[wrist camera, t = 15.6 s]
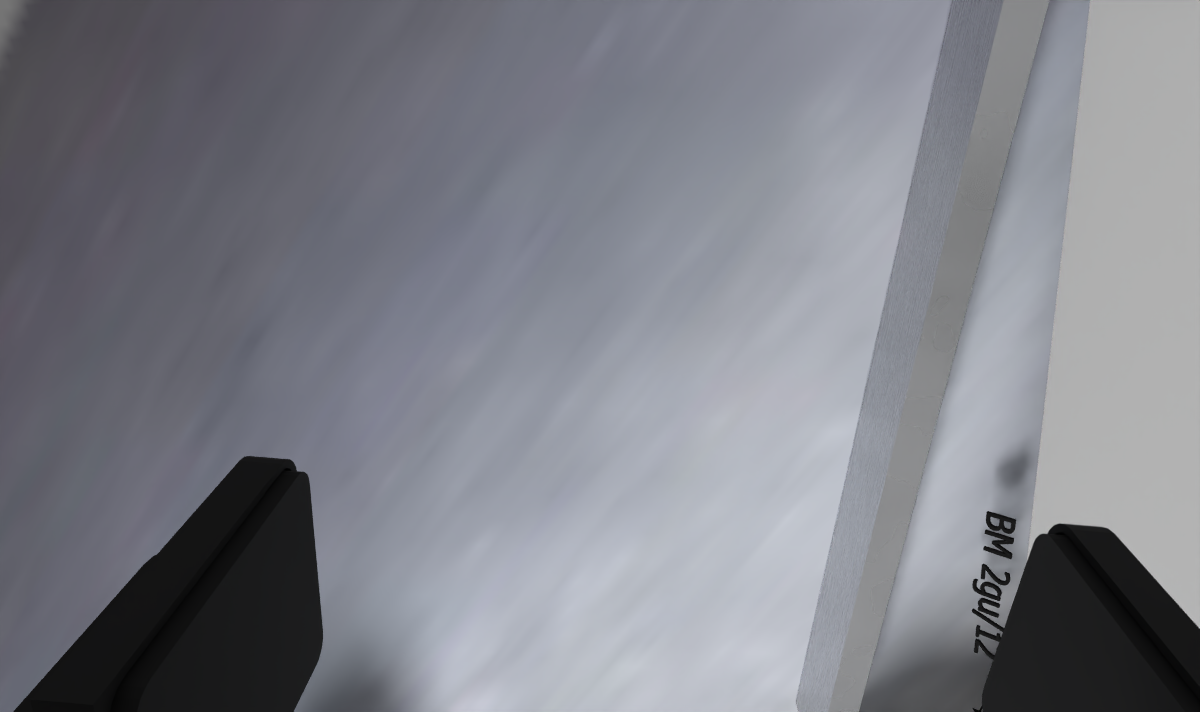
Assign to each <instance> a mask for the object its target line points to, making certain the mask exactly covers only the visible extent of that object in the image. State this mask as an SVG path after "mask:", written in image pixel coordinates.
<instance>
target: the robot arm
mask: <svg viewBox="0 0 1200 712" xmlns="http://www.w3.org/2000/svg"><path fill="white" fill-rule="evenodd" d="M322 642H323V628H322V616H321V605H320V594H319V583H318V572H317V560H316V549H315V538H314V527H313V516H312V504H311V493H310V483H309V478H308V475H307V474H306V473H305V472H298V471H297V470H296V466H295V464H294V462H293V461H291V460H290V459H278V458H266V457H254V456H246V457H244V458H242V459H241V460H240V461H239V462H238V463H237V464H236V465H235V467H234V468H233V469H232V470H231V471H230V472H229V473H228V474H227V476H226V477H225V478H224V479H223V480H222V481H221V482H220V484H219V485H218V486H217V487H216V488H215V489H214V490H213V492H212V493H211V494H210V495H209V496H208V497H207V498H206V500H205V501H204V502H203V503H202V504H201V505H200V506H199V507H198V509H197V510H196V511H195V512H194V513H193V514H192V515H191V517H190V518H189V519H188V520H187V521H186V522H185V523H184V525H183V526H182V527H181V528H180V529H179V530H178V531H177V532H176V534H175V535H174V536H173V537H172V538H171V539H170V540H169V542H168V543H167V544H166V545H165V546H164V547H163V548H162V550H161V551H160V552H159V553H158V554H157V555H155V556H153V557H152V558H151V559H150V560H149V561H147V562H146V563H145V564H144V565H143V566H142V567H141V568H140V570H139V571H138V572H137V573H136V574H135V575H134V576H133V577H132V579H131V580H130V581H129V582H128V583H127V584H126V585H125V586H124V588H123V589H122V590H121V591H120V592H119V593H118V594H117V596H116V597H115V598H114V599H113V600H112V601H111V602H110V603H109V605H108V606H107V607H106V608H105V609H104V610H103V611H102V612H101V614H100V615H99V616H98V617H97V618H96V619H95V620H94V621H93V623H92V624H91V625H90V626H89V627H88V628H87V629H86V630H85V632H84V633H83V634H82V635H81V636H80V637H79V638H78V639H77V641H76V642H75V643H74V644H73V645H72V646H71V647H70V648H69V650H68V651H67V652H66V653H65V654H64V655H63V656H62V657H61V659H60V660H59V661H58V662H57V663H56V664H55V665H54V666H53V668H52V669H51V670H50V671H49V672H48V673H47V674H46V676H45V677H44V678H43V679H42V680H41V681H40V682H39V683H38V685H37V686H36V687H35V688H34V689H33V690H32V691H31V692H30V694H29V695H28V696H27V697H26V698H25V699H24V700H23V701H22V703H21V704H20V705H19V706H18V707H17V708H16V709H15V710H14V712H294V709H295V707H296V705H297V703H298V701H299V699H300V697H301V695H302V693H303V691H304V689H305V687H306V685H307V683H308V681H309V679H310V677H311V675H312V673H313V671H314V669H315V667H316V665H317V662H318V660H319V657H320V653H321V649H322ZM982 708H983V712H1200V628H1199V627H1198V626H1197V625H1196V624H1195V623H1194V622H1193V621H1192V620H1191V618H1190V617H1189V616H1188V615H1187V614H1186V613H1185V612H1184V611H1183V609H1182V608H1181V607H1180V606H1179V605H1178V604H1177V603H1176V602H1175V601H1174V599H1173V598H1172V597H1171V596H1170V595H1169V594H1168V593H1167V592H1166V590H1165V589H1164V588H1163V587H1162V586H1161V585H1160V584H1159V583H1158V582H1157V580H1156V579H1155V578H1154V577H1153V576H1152V575H1151V574H1150V573H1149V571H1148V570H1147V569H1146V568H1145V567H1144V566H1143V565H1142V564H1141V563H1140V561H1139V560H1138V559H1137V558H1136V557H1135V556H1134V555H1133V554H1132V552H1131V551H1130V550H1129V549H1128V548H1127V547H1126V546H1125V545H1124V544H1123V542H1122V541H1121V540H1120V539H1119V538H1118V537H1117V536H1116V535H1115V533H1113V532H1112V531H1111V530H1110V529H1108V528H1105V527H1099V526H1086V525H1074V524H1062V523H1059V524H1056V525H1054V526H1053V527H1052V528H1051V529H1050V530H1049V531H1048V533H1047V534H1045V533H1043V534H1040V535H1039V536H1038V537H1037V538H1036V539H1035V541H1034V543H1033V546H1032V549H1031V552H1030V555H1029V557H1028V560H1027V563H1026V566H1025V569H1024V572H1023V575H1022V578H1021V581H1020V584H1019V587H1018V590H1017V593H1016V596H1015V598H1014V601H1013V604H1012V607H1011V610H1010V613H1009V616H1008V619H1007V622H1006V625H1005V628H1004V631H1003V634H1002V637H1001V639H1000V642H999V645H998V648H997V651H996V654H995V657H994V660H993V663H992V666H991V669H990V672H989V675H988V678H987V680H986V683H985V686H984V690H983V694H982Z"/></svg>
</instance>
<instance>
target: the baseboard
mask: <svg viewBox="0 0 1200 712" xmlns="http://www.w3.org/2000/svg"><path fill="white" fill-rule="evenodd" d="M990 517H994V518H997V519H1000V523H999V526H994V525H992V524H991V521H990ZM1004 521H1007V522H1010V523H1011V529H1007V528H1005V527H1004ZM986 523H987V526H988V527H989V528H990V529H992V530H994V531H999V530H1000V529H1002V530H1003V531H1004V532H1005V533H1007V534H1011V533H1013V532H1014V530H1015V524H1016V519H1013V518H1009V517H1006V516H1003V515H999V514H996V513H993V512H989V511H987V515H986ZM1059 523H1062V524H1074V525H1086V526H1099V527H1105V528H1108V529H1110V530H1111V531H1112V532H1113V533H1115V535H1116V536H1117V537H1118V538H1119V539H1120V540H1121V541H1122V542H1123V544H1124V545H1125V546H1126V547H1127V548H1128V549H1129V550H1130V551H1131V552H1132V554H1133V555H1134V556H1135V557H1136V558H1137V559H1138V560H1139V561H1140V563H1141V564H1142V565H1143V566H1144V567H1145V568H1146V569H1147V570H1148V571H1149V573H1150V574H1151V575H1152V576H1153V577H1154V578H1155V579H1156V580H1157V582H1158V583H1159V584H1160V585H1161V586H1162V587H1163V588H1164V589H1165V590H1166V592H1167V593H1168V594H1169V595H1170V596H1171V597H1172V598H1173V599H1174V601H1175V602H1176V603H1177V604H1178V605H1179V606H1180V607H1181V608H1182V609H1183V611H1184V612H1185V613H1186V614H1187V615H1188V616H1189V617H1190V618H1191V620H1192V621H1193V622H1194V623H1195V624H1196V625H1197V626H1198V627H1199V628H1200V0H1090V7H1089V15H1088V24H1087V33H1086V42H1085V51H1084V60H1083V68H1082V77H1081V86H1080V95H1079V104H1078V113H1077V121H1076V130H1075V139H1074V148H1073V157H1072V166H1071V175H1070V183H1069V192H1068V201H1067V210H1066V219H1065V228H1064V236H1063V245H1062V254H1061V263H1060V272H1059V281H1058V290H1057V298H1056V307H1055V316H1054V325H1053V334H1052V343H1051V351H1050V360H1049V369H1048V378H1047V387H1046V396H1045V405H1044V413H1043V422H1042V431H1041V440H1040V449H1039V458H1038V466H1037V475H1036V484H1035V493H1034V502H1033V511H1032V520H1031V528H1030V537H1029V546H1028V555H1027V560H1028V557H1029V555H1030V552H1031V549H1032V546H1033V543H1034V541H1035V539H1036V538H1037V537H1038V536H1039V535H1040V534H1043V533H1045V534H1047V533H1048V531H1049V530H1050V529H1051V528H1052V527H1053V526H1054V525H1056V524H1059ZM985 534H988V535H991V536H994V537H997V538H1000V539H1003V540H995V541H992V544H993V545H994V546H996V547H997V548H998V549H1000V550H1001V551H999V550H996V549H993V548H990V547H987V546H984V548H983V550H985V551H988V552H991V553H994V554H997V555H1000V556H1003V557H1006V558H1009V559H1011V558H1012V553H1011V552H1009V551H1008V550H1006V549H1005V548H1004V547H1002V546H1001V545H999V544H1013V543H1014V538H1011V537H1008V536H1005V535H1002V534H999V533H996V532H992V531H989V530H985ZM1002 551H1003V552H1002ZM985 571H987V572H988V574H989V575H990V576H991V577H992V579H993V580H994V581H995V582H997V583H998V584H1000V585H1007V584H1008V583H1009V582H1010V574H1009V573H1007V572H1005V573H1004V574H1005V576H1006V581H1003V580H1000V579H999V578H997V577H996V576H995V574H994V573H993V572H992V571H991V570H990V569H989V567H988V566H987V565H985V564H982V570H981V579H985ZM977 581H978V579H974V580H973V589H974V591H975V592H977V593H978V594H981V595H983V596H986V597H989V598H991V599H994V600H997V601H1000V599H1001V597H1000V596H1001V594H1002V592H1001V589H1000V588H999V587H998V586H997V585H995V584H993V583H990V582H983V583H982V584H981V586H980V589H981V590H980V589H978V588H977ZM985 586H988V587H991V588H994V589H995V590H996V591H997V593H998V594H997V596H995V595H993V594H990V593H987V592H986V591H985V588H984V587H985ZM982 603H987V604H989V605H992V606H995V607H997V608H999V607H1000V604H999V603H996V602H993V601H991V600H988V599H985V598H981V599H980V600H979V601H978V605H979V607H978V610H979V611H981V612H984V613H986V614H989V615H992V616H994V617H997V618H998V617H999V614H998V613H996V612H993V611H990V610H988V609H985V608H984V607H983V605H982ZM972 612H973V613H974V614H976V615H977V616H979V617H980V618H982V619H983V620H985V621H986V622H988V623H990V624H991V625H993V626H994V627H996V628H997V629H999V630H1000V631H1002V632H1003V631H1004V628H1003V627H1001V626H1000V625H998V624H997V623H995V622H994V621H992V620H990V619H989V618H987V617H986V616H984V615H983V614H981V613H980V612H978V611H977V610H975V609H972ZM979 634H981V635H983V636H986V637H988V638H991V639H993V640H996V641H998V642H1000V639H1001V637H1000V634H999V633H997V636H995V635H992V634H990V633H987V632H985V631H982V630H980V626H979V625H977V626H976V637H979ZM979 646H980V647H981V648H982V650H983V651H984V652H985V653H986V655H987V656H989V657H990V658H991V659H993V660H994V657H995V655H993V654H992V653H990V652H989V651H988V650H987V648H986V647H985V646H984V645H983V644H982V642H981V641H980V640H979V639H975V647H974V652H975V653H978V647H979ZM973 710H974V712H981V710H982V707H981V708H980V710H977V709H974V708H973Z"/></svg>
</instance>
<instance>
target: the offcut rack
mask: <svg viewBox="0 0 1200 712" xmlns="http://www.w3.org/2000/svg"><path fill="white" fill-rule="evenodd" d="M1049 1H1050V0H953V1H952V5H951V10H950V14H949V19H948V23H947V28H946V32H945V37H944V41H943V46H942V50H941V55H940V59H939V63H938V68H937V72H936V77H935V81H934V86H933V90H932V95H931V99H930V104H929V108H928V113H927V117H926V122H925V126H924V131H923V135H922V140H921V144H920V148H919V153H918V157H917V162H916V166H915V171H914V175H913V180H912V184H911V189H910V193H909V198H908V202H907V207H906V211H905V216H904V220H903V225H902V229H901V234H900V238H899V242H898V247H897V251H896V256H895V260H894V265H893V269H892V274H891V278H890V283H889V287H888V292H887V296H886V301H885V305H884V310H883V314H882V319H881V323H880V327H879V332H878V336H877V341H876V345H875V350H874V354H873V359H872V363H871V368H870V372H869V377H868V381H867V386H866V390H865V395H864V399H863V404H862V408H861V412H860V417H859V421H858V426H857V430H856V435H855V439H854V444H853V448H852V453H851V457H850V462H849V466H848V471H847V475H846V480H845V484H844V489H843V493H842V498H841V502H840V506H839V511H838V515H837V520H836V524H835V529H834V533H833V538H832V542H831V547H830V551H829V556H828V560H827V565H826V569H825V574H824V578H823V583H822V587H821V591H820V596H819V600H818V605H817V609H816V614H815V618H814V623H813V627H812V632H811V636H810V641H809V645H808V650H807V654H806V659H805V663H804V668H803V672H802V676H801V681H800V685H799V690H798V694H797V699H796V704H797V708H798V712H859V709H860V706H861V702H862V698H863V694H864V691H865V687H866V683H867V680H868V676H869V672H870V668H871V665H872V661H873V657H874V653H875V650H876V646H877V642H878V639H879V635H880V631H881V627H882V624H883V620H884V616H885V612H886V609H887V605H888V601H889V597H890V594H891V590H892V586H893V583H894V579H895V575H896V571H897V568H898V564H899V560H900V556H901V553H902V549H903V545H904V542H905V538H906V534H907V530H908V527H909V523H910V519H911V515H912V512H913V508H914V504H915V500H916V497H917V493H918V489H919V486H920V482H921V478H922V474H923V471H924V467H925V463H926V459H927V456H928V452H929V448H930V445H931V441H932V437H933V433H934V430H935V426H936V422H937V418H938V415H939V411H940V407H941V403H942V400H943V396H944V392H945V389H946V385H947V381H948V377H949V374H950V370H951V366H952V362H953V359H954V355H955V351H956V348H957V344H958V340H959V336H960V333H961V329H962V325H963V321H964V318H965V314H966V310H967V306H968V303H969V299H970V295H971V292H972V288H973V284H974V280H975V277H976V273H977V269H978V265H979V262H980V258H981V254H982V251H983V247H984V243H985V239H986V236H987V232H988V228H989V224H990V221H991V217H992V213H993V209H994V206H995V202H996V198H997V195H998V191H999V187H1000V183H1001V180H1002V176H1003V172H1004V168H1005V165H1006V161H1007V157H1008V154H1009V150H1010V146H1011V142H1012V139H1013V135H1014V131H1015V127H1016V124H1017V120H1018V116H1019V112H1020V109H1021V105H1022V101H1023V98H1024V94H1025V90H1026V86H1027V83H1028V79H1029V75H1030V71H1031V68H1032V64H1033V60H1034V57H1035V53H1036V49H1037V45H1038V42H1039V38H1040V34H1041V30H1042V27H1043V23H1044V19H1045V15H1046V12H1047V8H1048V4H1049Z"/></svg>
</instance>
